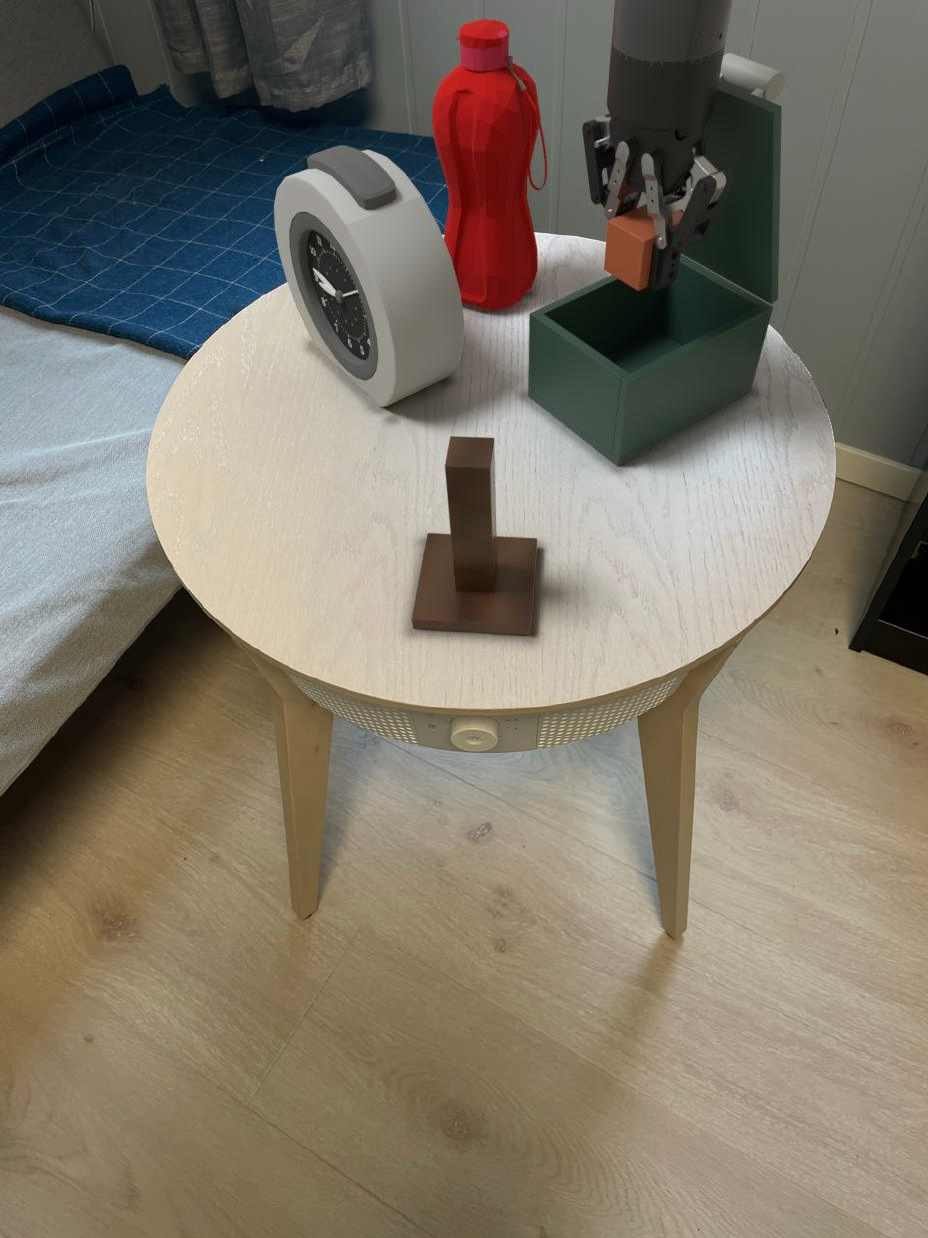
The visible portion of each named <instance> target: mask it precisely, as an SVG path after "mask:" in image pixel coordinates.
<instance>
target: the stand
mask: <svg viewBox="0 0 928 1238" xmlns="http://www.w3.org/2000/svg"><path fill="white" fill-rule="evenodd" d="M495 450H496V449H495V437H485V436H483V437H481V436H478V437H477V436H457V435H456V436H455V435H451V436H450V437H449V440H448V446H447V450H446V451H447V452H446V458H445V462H444V463H445V464H444V472H445V473H444V474H445V483H446V495H447V507H448V518H449V519H448V520H449V531H450V533H440V532H439V533H437V532H436V533H435V532H428V533H426V538H425V544H424V550H423V556H422V562H421V566H420V571H419V577H418V583H417V588H416V593H415V597H414V598H415V599H414V604H413V610H412V613H411V625H412V628H413V629H417V630H418V629H419V630H435V631H448V632H449V631H451V632H467V633H469V632H470V633H483V634H484V633H485V634H500V635H502V634H503V635H516V636H517V635H519V636H520V635H521V636H531V632H532V619H533V607H534V594H535V581H536V580H535V579H536V568H537V555H538V538H537V537H520V536H502V535H501V536H499V535H497V533H498V532H497V498H496V497H497V494H496V493H497V491H496V490H497V489H496V453H495V452H496V451H495Z"/></svg>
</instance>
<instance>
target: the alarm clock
mask: <svg viewBox="0 0 928 1238" xmlns="http://www.w3.org/2000/svg"><path fill="white" fill-rule="evenodd" d="M306 162H307V167H308V169H304V170H302V171H299V172H296V173H293V174H290V175H287V176H285V177H284V178H283V180H282V182H281V183H279V185H278V187H277V189H276V193H275V197H274V198H275V199H274V205H273V215H274V230H275V231H274V233H275V237H276V242H277V248H278V253H279V254H278V255H279V258H280V261H281V264H282V268H283V272H284V275H285V279H286V283H287V285H288V288H289V290H290V294H291V295H292V298H293V301H294V304H295V307H296V309H297V311H298V313H299V316H300V317H301V320H302V322H303V325H304V326H305V328H306V330H307V333H308V335H309V338H311V340H312V342H313V344H314V346H315V347H316V349H318V350H319V351H320V352H321V353H322V354H323V355H324V356H326V357H327V358H328V359H329V360H330V361H331V362H332V363H333V364H334V365H335V366H336V367H337V368H338V369H339V370H340V371H341V372H342V373H343V374H344V375H346V376H347V377H348V378H349V379H350V380H351V381H352V382H353V383H355V385H356V386H357V387H358V388H359V389H360V390H361V391H363V392H364V393H365V394H366V395H367V396H368V398H370V399H371V400H372V401H373V402H374V403H376V405H377V406H379V407H380V408H385V407H389V406H390V405H392V404H395V403H396V402H399V401H401V400H403V399H405V398H407V397H409V396H411V395H414V394H416V393H418V392H420V391H421V390H424V389H426V388H428V387H430V386H433V385H434V384H437V383H438V382H441V381H443V380H444V379H447V378H449V377H450V376H451V374H452V373H453V372H454V370H455V369H456V368H457V367H458V365H459V363H460V359H461V354H462V352H463V349H464V337H465V336H464V335H465V334H464V333H465V319H464V310H463V303H462V302H461V294H460V289H459V285H458V281H457V278H456V274H455V270H454V266H453V263H452V259H451V256H450V254H449V251H448V249H447V246H446V244H445V241H444V235H443V234H442V232H441V228H440V226H439V224H438V222H437V221H436V219H435V217H434V215H433V213H432V212H431V210H430V207H429V206H428V204H427V202H426V201H425V198H424V197H423V195H422V194H421V193H420V191H419V190H418V188H417V187H416V186H415V184H414V182H412V180H411V179H410V178H409V176H407V174H406V172H405V171H403V170H402V169H401V168H400V167H399V166H398V165H397V164H396V163H395V162H393V161H392V160H391V159H390V158H388V157H387V156H385V155H383V154H381V153H378V152H376V151H373V150H370V149H365V150H360V149H358V148H355V147H351V146H348V145H337V146H332V147H330V148H327V149H324V150H321V151H318V152H316V153H313V154H311V155H309V156H308V157H307V159H306Z"/></svg>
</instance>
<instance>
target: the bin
mask: <svg viewBox="0 0 928 1238" xmlns="http://www.w3.org/2000/svg"><path fill="white" fill-rule="evenodd" d="M773 310H774V306H773V305H772V304H770V303H768V302H766V301H765V300H763V299H761V298H759V297H757V296H756V295H754V294H752V293H750V292H749V291H747V290H745V289H743V288H741V287H740V286H738V285H736V284H734V283H733V282H731V281H729V280H727V279H725V278H724V277H722V276H720V275H718V274H717V273H715V272H713V271H711V270H709V269H708V268H706V267H704V266H702V265H701V264H699V263H697V262H695V261H694V260H692V259H690V258H688V257H686V256H685V255H683V254H681V256H680V262H679V268H678V274H677V277H676V279H675V281H673V282H671V284H670V285H668V286H666V287H664V288H662V289H660V290H658V291H654V290H652V289H651V288H649V287H646V288H644V289H642V290H639V291H637V290H636V289H634V288H633V287H631V286H629V285H628V284H626V283H624V282H623V281H621V280H620V279H618V278H616V277H615V276H613V275H611V274H609V276H606V277H604V278H602V279H600V280H598V281H595V282H594V283H593V282H592V283H591V284H589V285H586V286H585V287H583V288H581V289H578V290H576V291H574V292H571V293H570V294H567V295H565V296H564V297H561V298H559V299H557V300H555V301H553V302H550V303H547V304H546V305H544V306H543V307H540V308H538V309H536V310H533V311H531V312H530V313H529V314H528V315H529V319H528V322H529V323H528V379H527V396H528V397H529V398H531V400H533V401H534V402H535V403H536V404H538V406H540V407H541V408H543V409H544V410H545V411H547V412H548V413H549V414H550V415H552V416H553V417H554V418H555V419H557V420H558V421H559V422H560V423H562V425H564V426H566V428H568V429H569V430H571V431H572V432H573V433H574V434H576V435H577V436H578V437H580V438H581V439H582V440H583V441H585V443H587V444H588V445H590V446H591V447H592V448H593V449H595V450H596V451H597V452H599V453H600V454H601V455H603V456H604V457H605V458H606V459H608V460H609V461H610V462H611V463H613V464H614V465H615V466H617V467H620V466H622V465H623V464H625V463H627V462H629V461H630V460H632V459H634V458H636V457H638V456H640V455H641V454H643V453H645V452H646V451H648V450H650V449H652V448H653V447H655V446H657V445H660V444H661V443H663V442H665V441H666V440H667V439H669V438H671V437H674V436H675V435H676V434H678V433H680V432H682V431H683V430H685V429H687V428H688V427H691V426H692V425H694V424H695V423H697V422H699V421H701V420H704V418H707V417H708V416H710V415H712V414H714V413H715V412H717V411H719V410H721V409H722V408H724V407H725V406H728V405H729V404H731V403H733V402H735V401H736V400H738V399H740V398H742V397H744V396H745V395H747V394H749V393H751V391H752V390H753V385H754V381H755V377H756V374H757V371H758V367H759V363H760V359H761V355H762V351H763V348H764V344H765V340H766V336H767V332H768V330H769V329H768V328H769V324H770V321H771V317H772V313H773Z"/></svg>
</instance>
